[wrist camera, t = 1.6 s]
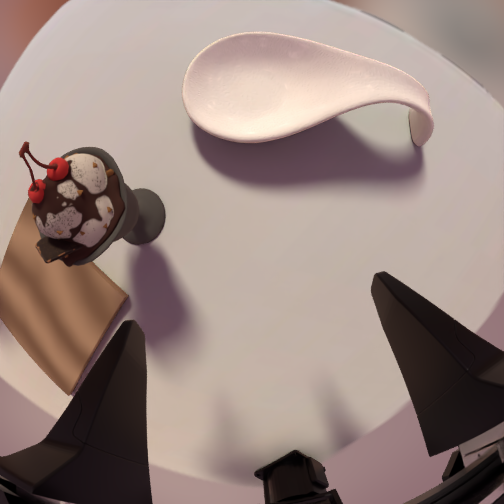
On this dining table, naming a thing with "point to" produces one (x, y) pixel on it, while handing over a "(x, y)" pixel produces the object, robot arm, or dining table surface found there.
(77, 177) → the sundae
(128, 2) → the dining table surface
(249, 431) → the dining table surface
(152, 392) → the dining table surface
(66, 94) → the dining table surface
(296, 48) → the spoon rest
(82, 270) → the serving board
